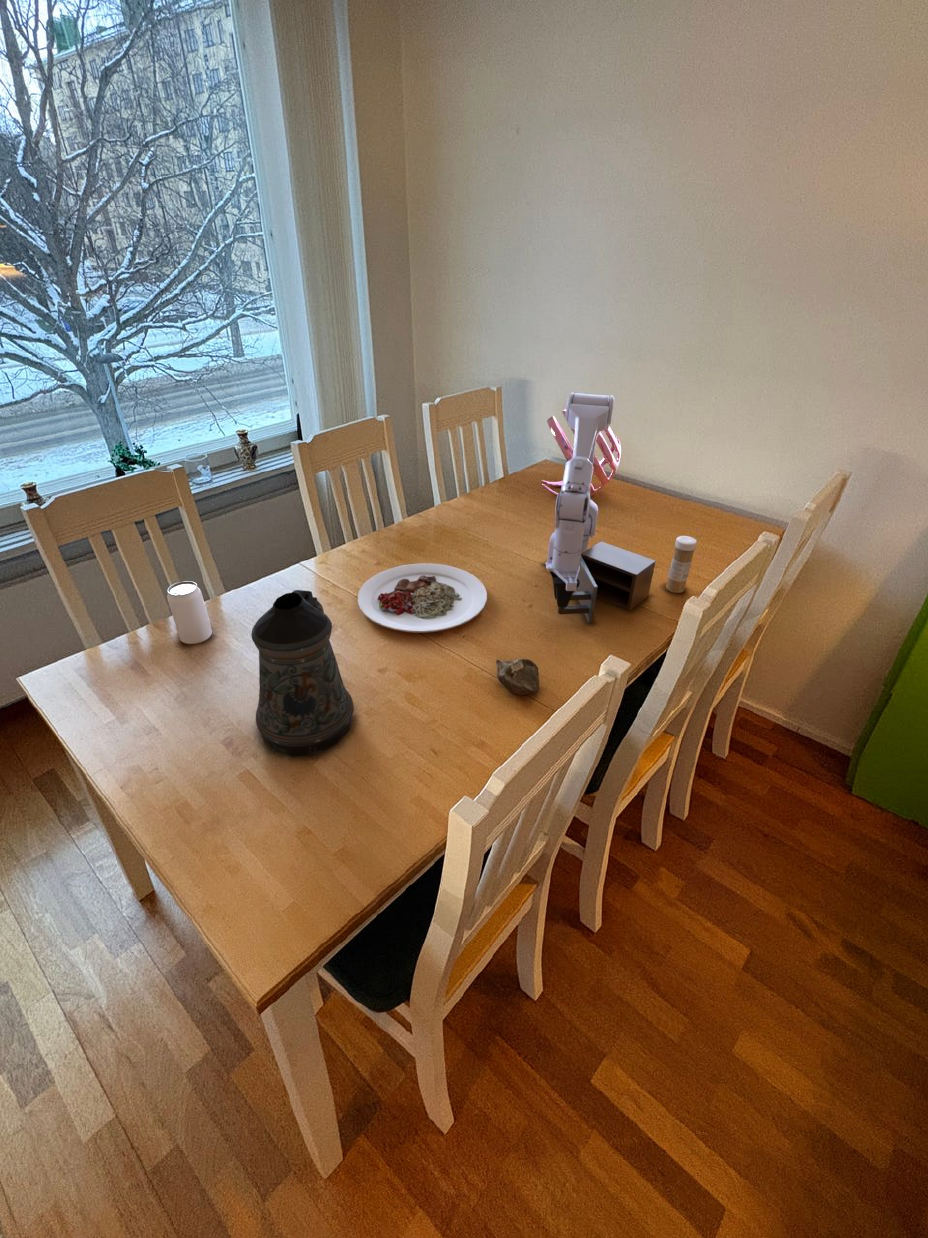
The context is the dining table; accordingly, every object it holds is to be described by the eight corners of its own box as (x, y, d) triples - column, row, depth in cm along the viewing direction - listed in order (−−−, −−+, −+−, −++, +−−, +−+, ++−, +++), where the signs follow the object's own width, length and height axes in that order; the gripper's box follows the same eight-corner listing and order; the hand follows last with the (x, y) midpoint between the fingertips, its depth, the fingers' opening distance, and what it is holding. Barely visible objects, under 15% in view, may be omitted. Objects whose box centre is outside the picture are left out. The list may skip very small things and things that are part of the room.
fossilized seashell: (486, 662, 116) (500, 701, 109) (506, 639, 113) (521, 678, 106) (515, 671, 120) (530, 709, 113) (535, 649, 117) (552, 688, 110)
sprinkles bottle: (676, 583, 148) (688, 533, 140) (688, 592, 144) (701, 542, 136) (661, 586, 146) (672, 536, 139) (672, 595, 143) (684, 545, 135)
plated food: (512, 600, 140) (513, 587, 138) (420, 656, 122) (420, 642, 120) (424, 558, 157) (424, 546, 155) (331, 601, 139) (330, 589, 137)
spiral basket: (512, 441, 178) (594, 388, 169) (519, 436, 204) (590, 391, 195) (558, 521, 183) (640, 474, 175) (559, 507, 209) (630, 466, 201)
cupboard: (629, 611, 137) (636, 574, 131) (576, 588, 145) (580, 553, 139) (648, 596, 142) (655, 560, 137) (595, 575, 150) (601, 541, 145)
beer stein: (266, 770, 96) (235, 646, 82) (251, 696, 111) (222, 580, 97) (365, 741, 102) (352, 620, 88) (338, 675, 116) (323, 562, 102)
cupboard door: (559, 624, 132) (563, 588, 126) (545, 590, 144) (549, 556, 139) (592, 622, 132) (597, 586, 127) (576, 589, 144) (580, 555, 139)
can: (219, 631, 128) (206, 583, 122) (198, 647, 123) (184, 598, 116) (194, 625, 130) (180, 577, 123) (173, 641, 125) (157, 592, 118)
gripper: (543, 532, 130) (538, 586, 137) (554, 564, 118) (548, 620, 125) (574, 532, 130) (568, 585, 138) (589, 563, 118) (581, 620, 126)
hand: (560, 602), depth 132 cm, fingers closed
